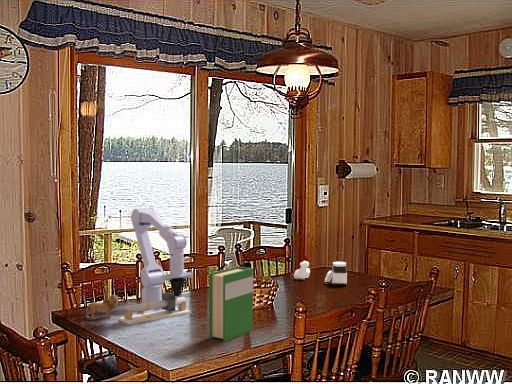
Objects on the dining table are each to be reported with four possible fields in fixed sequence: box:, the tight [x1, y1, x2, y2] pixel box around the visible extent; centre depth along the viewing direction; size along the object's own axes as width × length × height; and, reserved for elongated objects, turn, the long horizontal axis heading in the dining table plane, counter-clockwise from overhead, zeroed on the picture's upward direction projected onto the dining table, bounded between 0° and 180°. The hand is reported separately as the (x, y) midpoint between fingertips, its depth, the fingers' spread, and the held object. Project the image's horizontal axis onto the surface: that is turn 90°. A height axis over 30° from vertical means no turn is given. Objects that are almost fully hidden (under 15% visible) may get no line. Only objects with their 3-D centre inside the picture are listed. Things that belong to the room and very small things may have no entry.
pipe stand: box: [119, 296, 192, 325], centre depth 251 cm, size 8×29×6 cm, turn 128°
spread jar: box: [324, 261, 348, 286], centre depth 319 cm, size 12×11×12 cm
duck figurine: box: [293, 260, 311, 280], centre depth 333 cm, size 12×8×11 cm
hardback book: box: [208, 266, 254, 342], centre depth 227 cm, size 18×7×24 cm, turn 146°
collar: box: [161, 292, 176, 312], centre depth 255 cm, size 6×3×7 cm, turn 38°
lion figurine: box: [82, 294, 120, 320], centre depth 249 cm, size 15×5×9 cm, turn 117°
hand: (176, 295), depth 257 cm, fingers closed
